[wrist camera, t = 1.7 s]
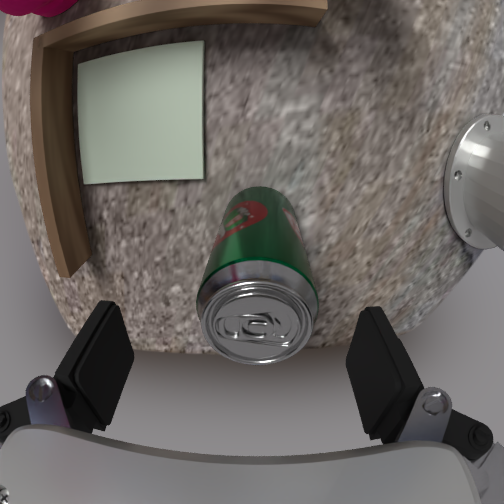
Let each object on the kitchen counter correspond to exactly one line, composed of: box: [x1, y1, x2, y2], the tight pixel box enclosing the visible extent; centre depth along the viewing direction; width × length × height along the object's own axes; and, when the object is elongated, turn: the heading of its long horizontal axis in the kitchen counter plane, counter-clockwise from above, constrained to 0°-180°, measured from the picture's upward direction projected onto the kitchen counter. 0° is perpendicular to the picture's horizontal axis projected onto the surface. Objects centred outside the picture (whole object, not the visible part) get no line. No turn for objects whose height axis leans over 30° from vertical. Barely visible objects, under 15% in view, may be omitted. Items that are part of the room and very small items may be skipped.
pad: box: [77, 40, 204, 185], centre depth 18 cm, size 10×10×1 cm
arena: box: [30, 0, 328, 278], centre depth 17 cm, size 20×19×4 cm
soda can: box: [196, 186, 319, 365], centre depth 16 cm, size 5×5×12 cm
